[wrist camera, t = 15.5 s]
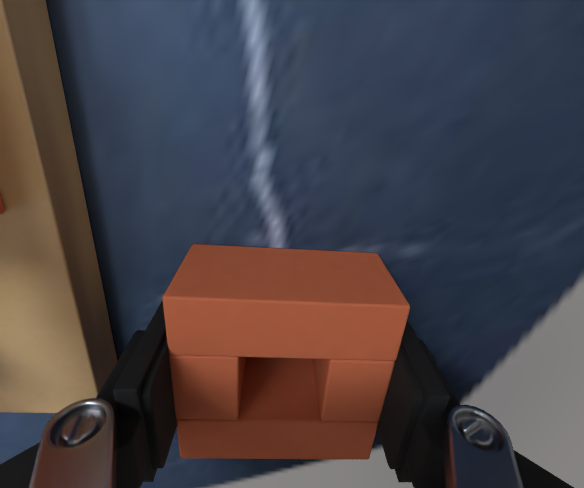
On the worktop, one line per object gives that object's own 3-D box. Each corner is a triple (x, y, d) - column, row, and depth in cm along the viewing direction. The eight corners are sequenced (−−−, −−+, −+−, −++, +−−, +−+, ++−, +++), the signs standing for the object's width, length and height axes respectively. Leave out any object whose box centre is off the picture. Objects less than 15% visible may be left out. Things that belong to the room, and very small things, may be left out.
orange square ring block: (377, 252, 11) (412, 306, 8) (350, 384, 13) (369, 460, 10) (192, 243, 10) (161, 296, 8) (200, 381, 13) (179, 459, 10)
